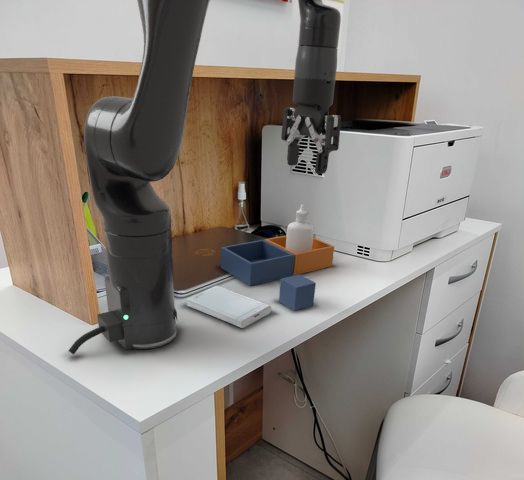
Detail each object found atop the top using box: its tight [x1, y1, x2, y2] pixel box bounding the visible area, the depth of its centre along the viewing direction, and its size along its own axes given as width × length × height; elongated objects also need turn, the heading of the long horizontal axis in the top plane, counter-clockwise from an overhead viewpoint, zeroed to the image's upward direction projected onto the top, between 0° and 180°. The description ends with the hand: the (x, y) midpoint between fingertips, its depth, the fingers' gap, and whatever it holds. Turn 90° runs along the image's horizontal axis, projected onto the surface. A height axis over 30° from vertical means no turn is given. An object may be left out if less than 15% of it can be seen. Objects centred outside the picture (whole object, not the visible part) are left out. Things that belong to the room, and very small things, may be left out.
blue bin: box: [220, 239, 294, 287], centre depth 101 cm, size 11×11×4 cm
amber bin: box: [264, 234, 335, 276], centre depth 107 cm, size 11×11×4 cm
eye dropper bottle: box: [286, 204, 315, 253], centre depth 105 cm, size 4×6×12 cm
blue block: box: [278, 274, 317, 312], centre depth 89 cm, size 4×4×4 cm
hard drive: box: [186, 285, 272, 329], centre depth 86 cm, size 2×8×12 cm
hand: (306, 169), depth 98 cm, fingers open, 8 cm apart
